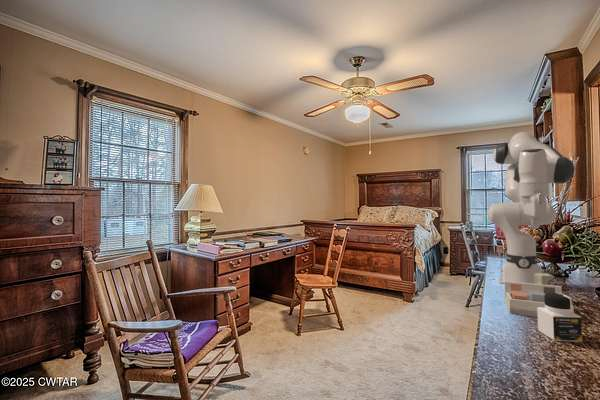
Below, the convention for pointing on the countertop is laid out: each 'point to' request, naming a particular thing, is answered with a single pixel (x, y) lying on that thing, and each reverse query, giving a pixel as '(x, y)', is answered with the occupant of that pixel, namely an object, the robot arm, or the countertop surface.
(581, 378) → the countertop surface
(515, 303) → the cream open box
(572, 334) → the medicine bottle
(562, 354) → the countertop surface
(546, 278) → the skincare box
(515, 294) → the terracotta key
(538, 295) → the slate key
